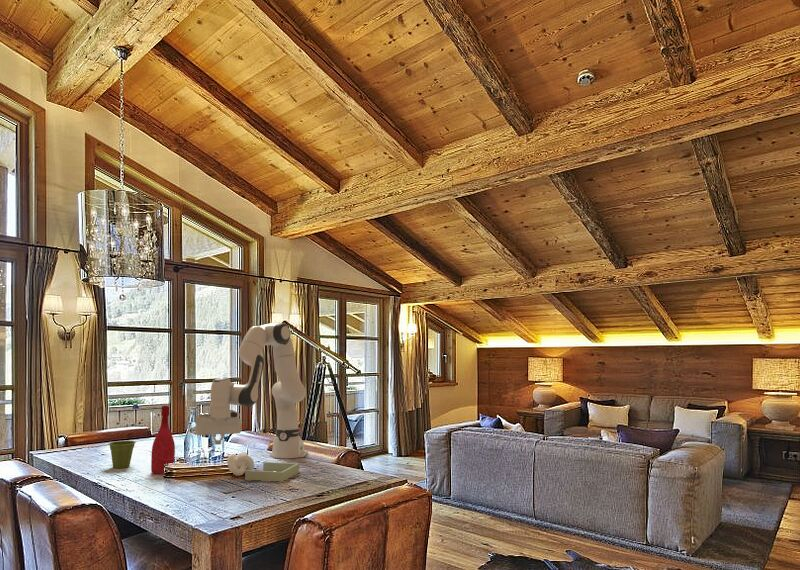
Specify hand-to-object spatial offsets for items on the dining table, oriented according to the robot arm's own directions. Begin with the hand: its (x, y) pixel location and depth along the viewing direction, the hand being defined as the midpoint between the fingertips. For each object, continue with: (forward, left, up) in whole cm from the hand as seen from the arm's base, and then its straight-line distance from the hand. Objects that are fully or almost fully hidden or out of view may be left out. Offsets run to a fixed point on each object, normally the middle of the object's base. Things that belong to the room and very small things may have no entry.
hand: (217, 444), depth 271 cm
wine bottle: (+4, -25, -13) cm, 28 cm away
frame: (0, +26, -13) cm, 29 cm away
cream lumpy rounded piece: (0, +10, -13) cm, 17 cm away
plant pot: (-3, -51, -13) cm, 52 cm away
